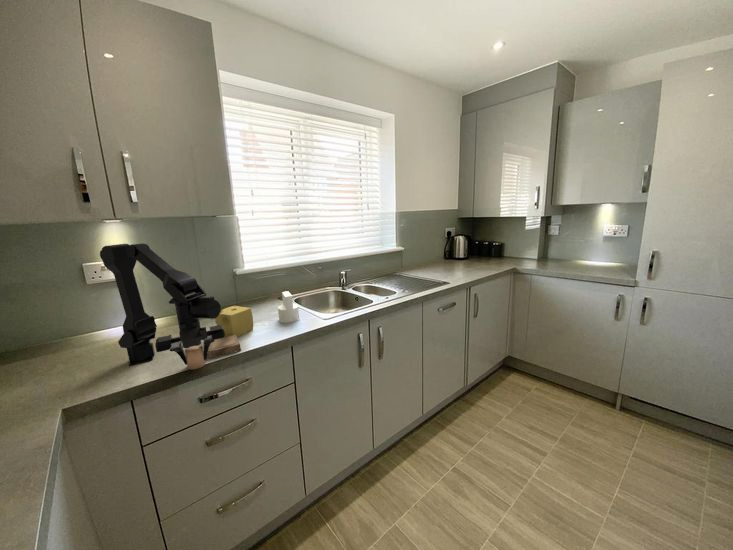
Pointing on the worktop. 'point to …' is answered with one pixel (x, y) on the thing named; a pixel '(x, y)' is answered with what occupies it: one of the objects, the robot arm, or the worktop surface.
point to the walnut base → (224, 346)
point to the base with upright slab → (288, 309)
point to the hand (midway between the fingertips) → (196, 361)
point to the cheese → (235, 320)
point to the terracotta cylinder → (195, 357)
